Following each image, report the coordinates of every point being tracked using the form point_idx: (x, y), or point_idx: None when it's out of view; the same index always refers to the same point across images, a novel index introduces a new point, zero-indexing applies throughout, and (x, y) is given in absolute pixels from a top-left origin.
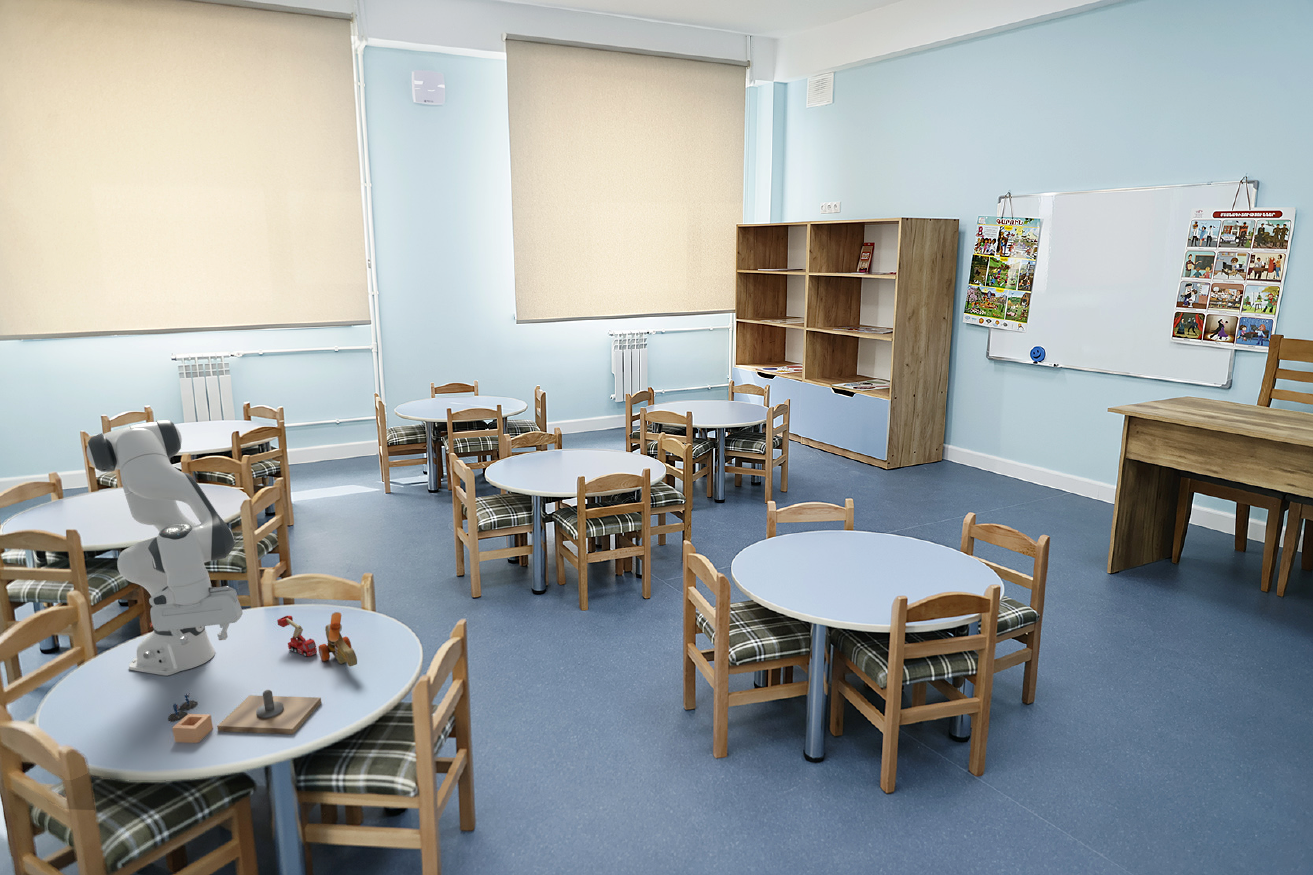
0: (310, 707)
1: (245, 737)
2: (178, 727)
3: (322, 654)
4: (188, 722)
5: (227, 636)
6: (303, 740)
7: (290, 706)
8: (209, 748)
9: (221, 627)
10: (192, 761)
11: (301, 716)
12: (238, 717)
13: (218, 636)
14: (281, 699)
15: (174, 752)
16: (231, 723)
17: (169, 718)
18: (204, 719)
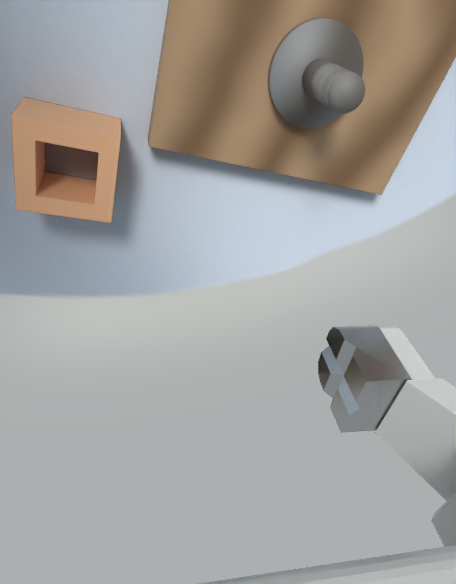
0: (441, 75)
1: (248, 186)
2: (41, 210)
3: None
4: (38, 145)
5: (394, 327)
6: (394, 216)
7: (380, 51)
8: (163, 226)
9: (446, 520)
10: (143, 273)
11: (408, 131)
12: (207, 99)
13: (339, 412)
14: None
15: (64, 235)
16: (195, 138)
17: None
18: (114, 169)
